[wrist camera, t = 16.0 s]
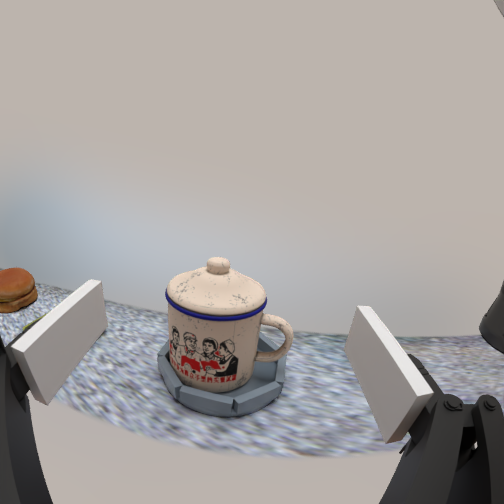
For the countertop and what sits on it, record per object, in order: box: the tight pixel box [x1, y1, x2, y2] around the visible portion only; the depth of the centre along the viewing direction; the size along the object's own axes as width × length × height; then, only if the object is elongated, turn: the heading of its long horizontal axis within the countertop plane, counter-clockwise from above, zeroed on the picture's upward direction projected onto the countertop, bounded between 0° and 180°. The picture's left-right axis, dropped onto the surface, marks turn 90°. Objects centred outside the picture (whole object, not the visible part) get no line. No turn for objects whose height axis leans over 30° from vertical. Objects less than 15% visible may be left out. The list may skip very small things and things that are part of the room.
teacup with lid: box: [165, 257, 293, 393], centre depth 25 cm, size 12×9×12 cm
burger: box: [0, 268, 38, 313], centre depth 30 cm, size 10×9×5 cm
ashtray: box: [157, 332, 287, 417], centre depth 27 cm, size 13×13×2 cm
